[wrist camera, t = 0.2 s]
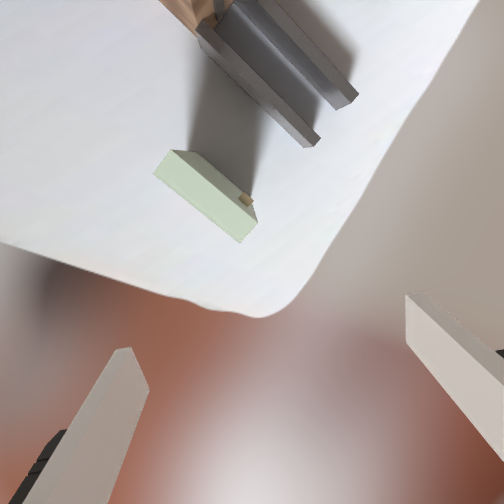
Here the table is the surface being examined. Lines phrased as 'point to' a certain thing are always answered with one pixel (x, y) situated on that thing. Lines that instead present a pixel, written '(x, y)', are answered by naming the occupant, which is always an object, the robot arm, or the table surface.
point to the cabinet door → (208, 192)
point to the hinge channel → (295, 50)
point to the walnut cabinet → (198, 11)
